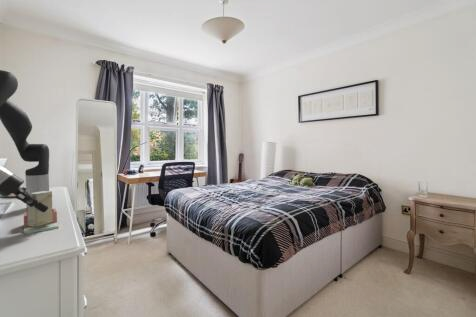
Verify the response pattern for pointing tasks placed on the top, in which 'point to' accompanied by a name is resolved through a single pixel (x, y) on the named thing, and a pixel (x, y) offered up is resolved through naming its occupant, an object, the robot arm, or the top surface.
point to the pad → (40, 228)
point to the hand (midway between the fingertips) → (45, 208)
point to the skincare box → (36, 215)
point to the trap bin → (54, 217)
